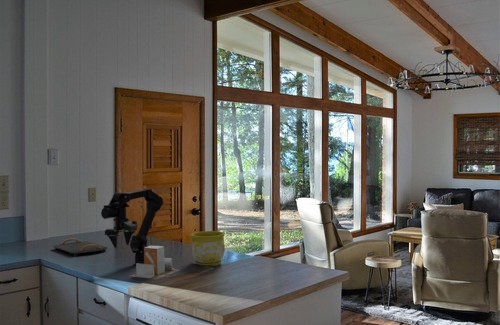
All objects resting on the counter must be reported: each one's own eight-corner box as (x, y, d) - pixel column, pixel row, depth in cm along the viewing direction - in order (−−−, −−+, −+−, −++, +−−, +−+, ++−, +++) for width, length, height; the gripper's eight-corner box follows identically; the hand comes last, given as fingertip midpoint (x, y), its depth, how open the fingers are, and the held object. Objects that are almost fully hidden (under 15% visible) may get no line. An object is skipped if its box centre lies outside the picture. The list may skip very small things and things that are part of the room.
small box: (144, 273, 261) (143, 247, 260) (151, 270, 266) (151, 245, 266) (157, 275, 257) (157, 248, 257) (165, 272, 263) (164, 246, 263)
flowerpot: (188, 262, 288) (187, 232, 287) (219, 259, 294) (218, 230, 294) (196, 269, 271) (195, 237, 271) (229, 265, 277) (229, 234, 277)
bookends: (159, 267, 273) (158, 256, 273) (175, 269, 268) (174, 257, 268) (134, 276, 255) (133, 264, 255) (150, 278, 251) (150, 265, 251)
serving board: (110, 252, 324) (110, 242, 323) (73, 258, 309) (73, 248, 309) (85, 245, 353) (84, 235, 353) (50, 249, 338) (50, 240, 338)
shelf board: (153, 268, 275) (153, 267, 275) (180, 271, 267) (180, 270, 267) (128, 277, 257) (128, 275, 257) (156, 280, 249) (156, 279, 249)
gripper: (120, 219, 263) (121, 250, 263) (144, 214, 279) (145, 244, 280) (103, 218, 268) (104, 249, 268) (128, 214, 284) (128, 242, 285)
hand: (121, 246), depth 275 cm, fingers open, 9 cm apart
